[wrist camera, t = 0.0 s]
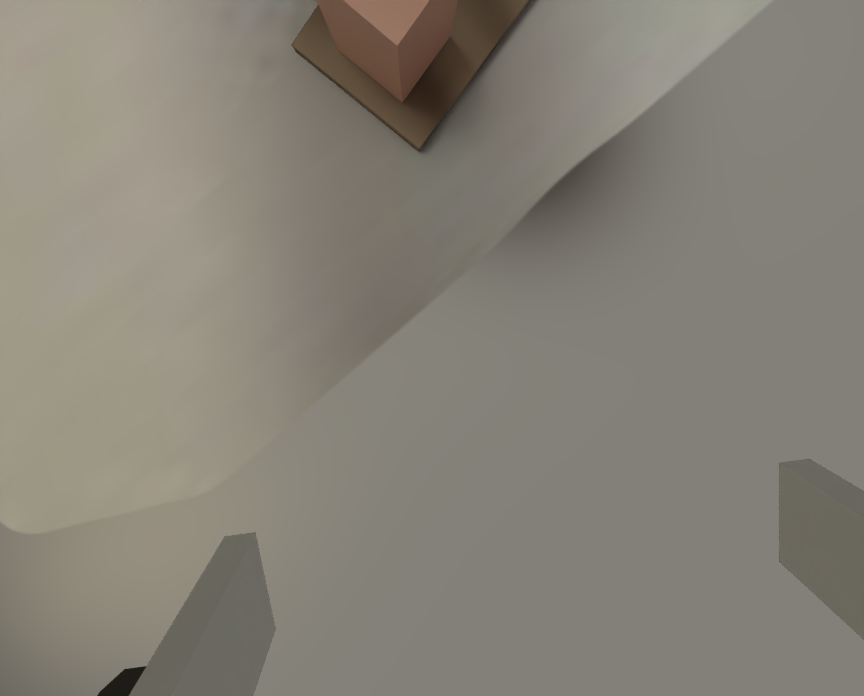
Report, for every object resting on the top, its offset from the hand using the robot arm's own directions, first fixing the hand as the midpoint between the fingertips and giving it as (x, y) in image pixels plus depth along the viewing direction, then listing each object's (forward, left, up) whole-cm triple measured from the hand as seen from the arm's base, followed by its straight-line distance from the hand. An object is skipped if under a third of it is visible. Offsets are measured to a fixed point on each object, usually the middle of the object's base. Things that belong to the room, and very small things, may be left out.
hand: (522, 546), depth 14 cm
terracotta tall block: (-19, -1, -26) cm, 33 cm away
